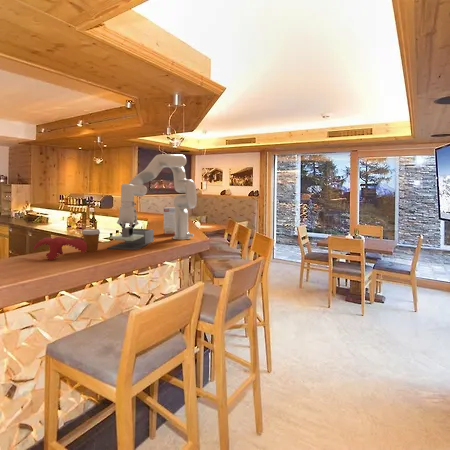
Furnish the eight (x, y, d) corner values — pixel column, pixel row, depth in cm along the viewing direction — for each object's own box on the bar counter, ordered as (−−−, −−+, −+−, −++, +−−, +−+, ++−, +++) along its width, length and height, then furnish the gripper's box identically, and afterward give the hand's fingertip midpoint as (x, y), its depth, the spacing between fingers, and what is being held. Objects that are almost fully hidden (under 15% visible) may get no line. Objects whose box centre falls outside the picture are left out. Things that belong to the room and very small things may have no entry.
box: (153, 240, 226) (153, 229, 225) (145, 244, 212) (145, 232, 211) (134, 239, 228) (134, 228, 227) (124, 243, 214) (124, 231, 213)
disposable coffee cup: (99, 252, 185) (99, 230, 184) (81, 252, 183) (80, 231, 181) (101, 248, 194) (100, 228, 193) (83, 249, 192) (83, 228, 190)
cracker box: (183, 233, 261) (183, 207, 258) (181, 235, 255) (181, 208, 252) (165, 233, 262) (165, 206, 260) (163, 234, 256) (163, 207, 254)
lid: (143, 238, 208) (143, 227, 208) (133, 241, 194) (133, 229, 193) (122, 236, 211) (122, 225, 210) (110, 240, 196) (110, 228, 196)
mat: (147, 244, 210) (147, 244, 210) (135, 250, 193) (135, 249, 193) (121, 243, 213) (121, 242, 213) (106, 248, 196) (106, 247, 196)
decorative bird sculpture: (83, 268, 167) (92, 243, 176) (75, 258, 159) (85, 233, 168) (30, 265, 169) (42, 241, 178) (20, 256, 162) (33, 231, 170)
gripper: (143, 204, 202) (143, 234, 204) (117, 203, 205) (118, 233, 207) (137, 205, 195) (137, 236, 197) (111, 204, 198) (112, 234, 200)
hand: (127, 234), depth 202 cm, fingers closed on lid, 3 cm apart
